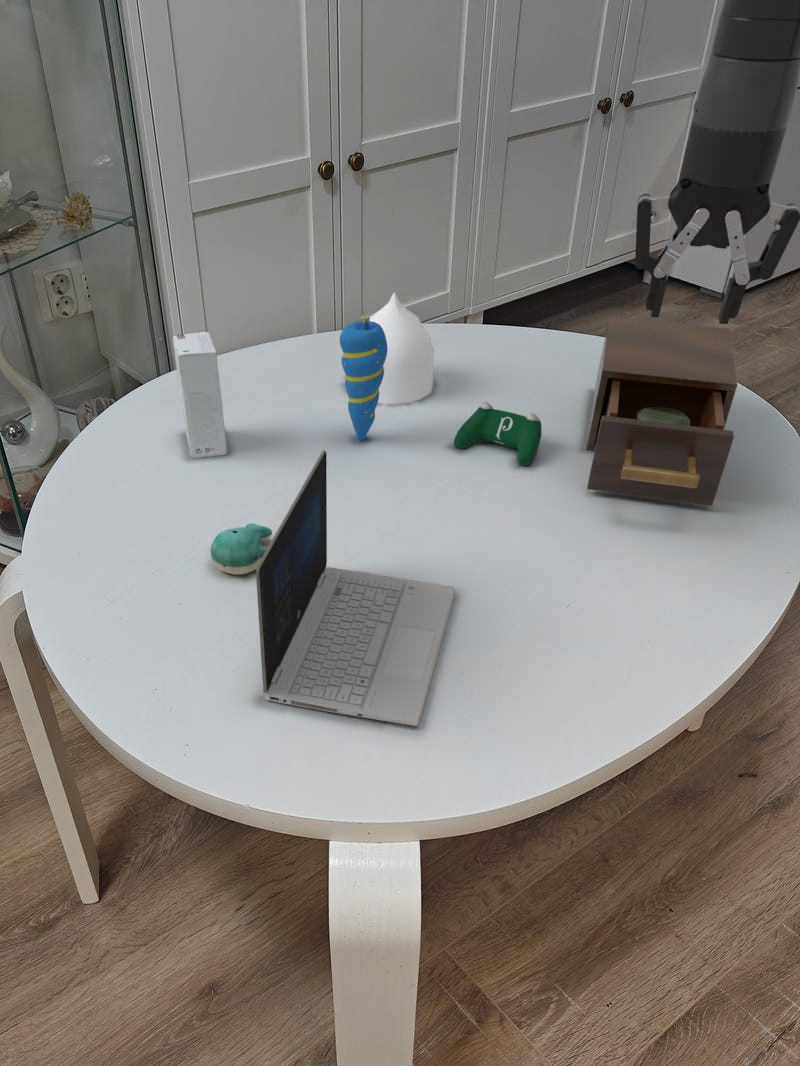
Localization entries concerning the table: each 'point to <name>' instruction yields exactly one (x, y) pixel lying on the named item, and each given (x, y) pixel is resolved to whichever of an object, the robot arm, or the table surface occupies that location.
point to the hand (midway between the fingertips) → (688, 317)
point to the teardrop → (404, 355)
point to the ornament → (363, 370)
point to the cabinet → (663, 361)
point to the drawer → (661, 443)
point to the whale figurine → (239, 548)
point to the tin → (663, 415)
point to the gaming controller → (502, 431)
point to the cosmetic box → (200, 394)
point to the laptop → (343, 623)
